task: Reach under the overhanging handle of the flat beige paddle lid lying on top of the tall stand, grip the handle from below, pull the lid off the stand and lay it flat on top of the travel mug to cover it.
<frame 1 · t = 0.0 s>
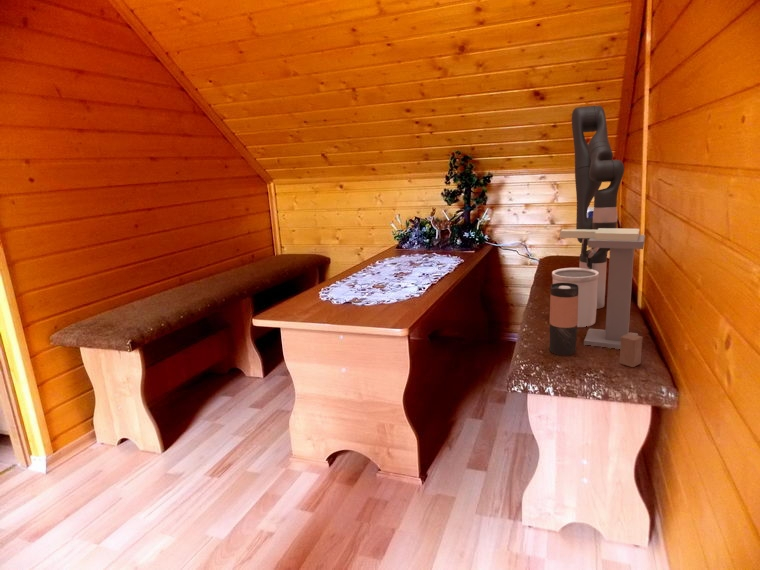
hand: (603, 268, 171), 17 cm above the countertop, tool pointing down, fingers open, 8 cm apart
paddle lid: (598, 237, 147), point 32 cm above the countertop, touching tall stand
travel mug: (562, 351, 147), on the countertop
wooden block: (629, 364, 136), on the countertop
utensil holder: (573, 321, 172), on the countertop, touching gripper
tall stand: (611, 341, 152), on the countertop
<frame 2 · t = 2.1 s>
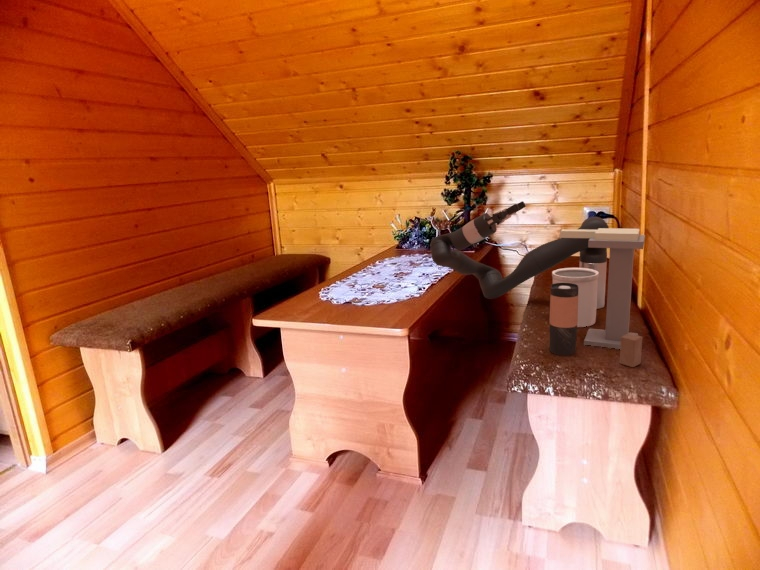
hand: (521, 205, 161), 41 cm above the countertop, tool pointing upward, fingers open, 8 cm apart
utensil holder: (573, 321, 172), on the countertop
everything else where it was.
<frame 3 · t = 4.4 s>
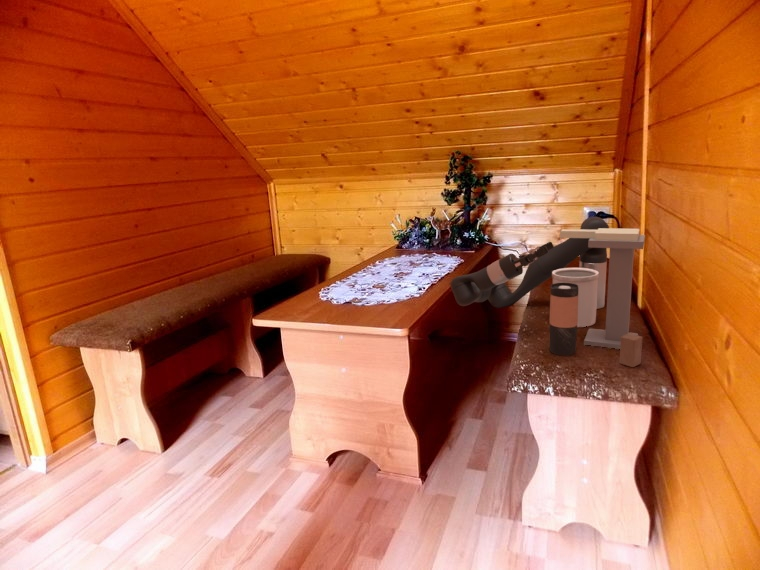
hand: (549, 246, 154), 29 cm above the countertop, tool pointing upward, fingers open, 8 cm apart
nothing on the countertop moved.
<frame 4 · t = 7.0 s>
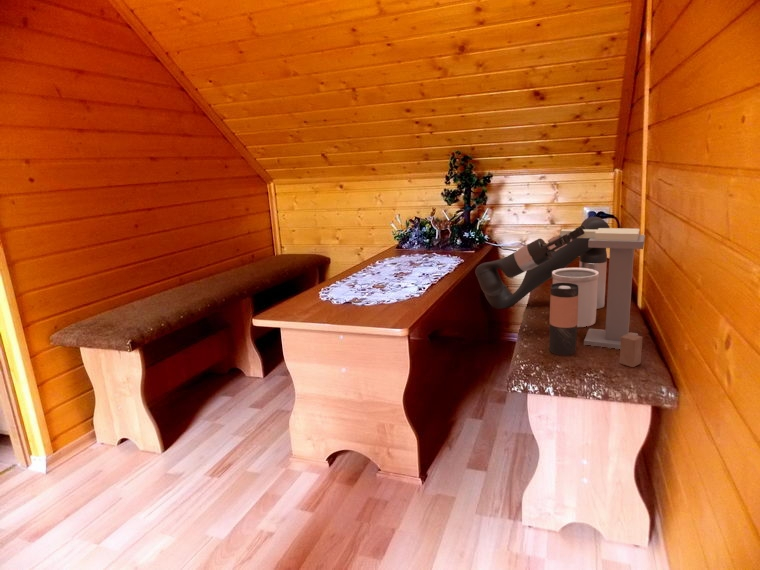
hand: (583, 229, 148), 34 cm above the countertop, tool pointing upward, fingers closed on paddle lid, 4 cm apart
paddle lid: (598, 237, 147), point 32 cm above the countertop, touching gripper, tall stand
everything else where it was.
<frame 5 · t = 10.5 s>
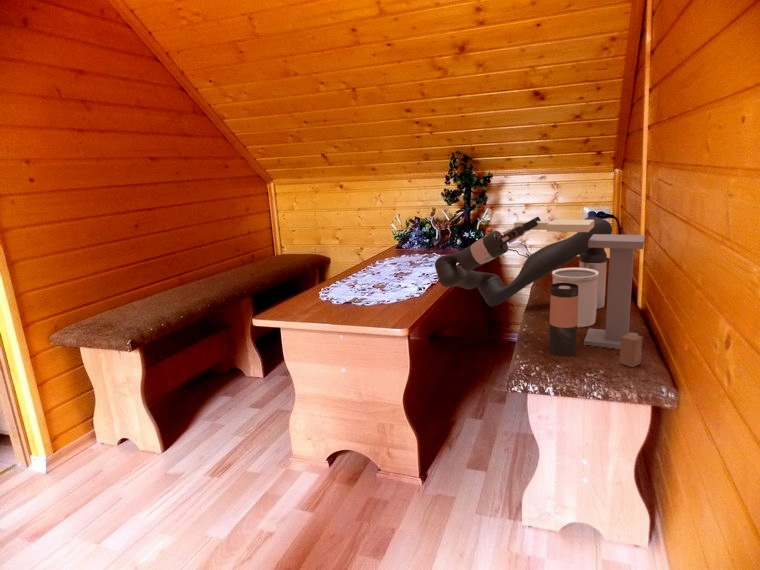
hand: (537, 220, 145), 38 cm above the countertop, tool pointing upward, fingers closed on paddle lid, 4 cm apart
paddle lid: (552, 228, 144), point 36 cm above the countertop, touching gripper
everything else where it was.
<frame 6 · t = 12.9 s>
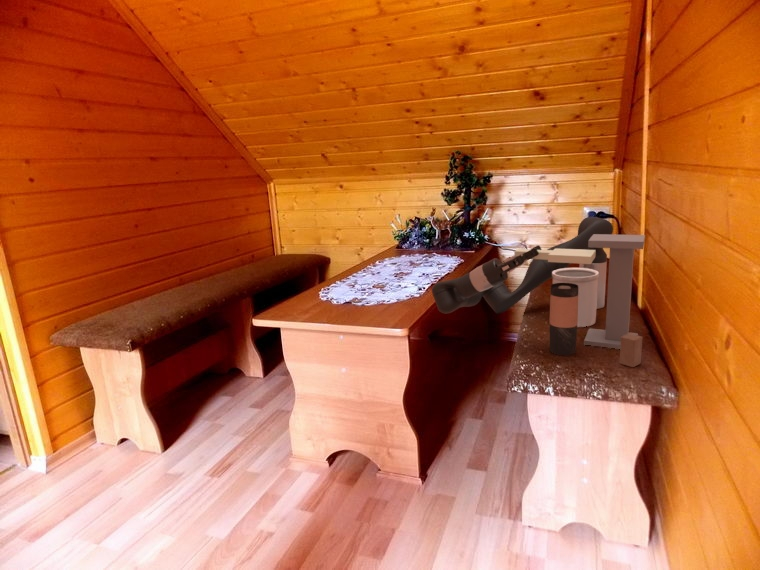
hand: (538, 249, 143), 30 cm above the countertop, tool pointing upward, fingers closed on paddle lid, 4 cm apart
paddle lid: (553, 258, 141), point 28 cm above the countertop, touching gripper
everything else where it was.
when the fingers open (25 cm above the countertop, at t = 14.5 s): paddle lid drops 3 cm, resting on travel mug.
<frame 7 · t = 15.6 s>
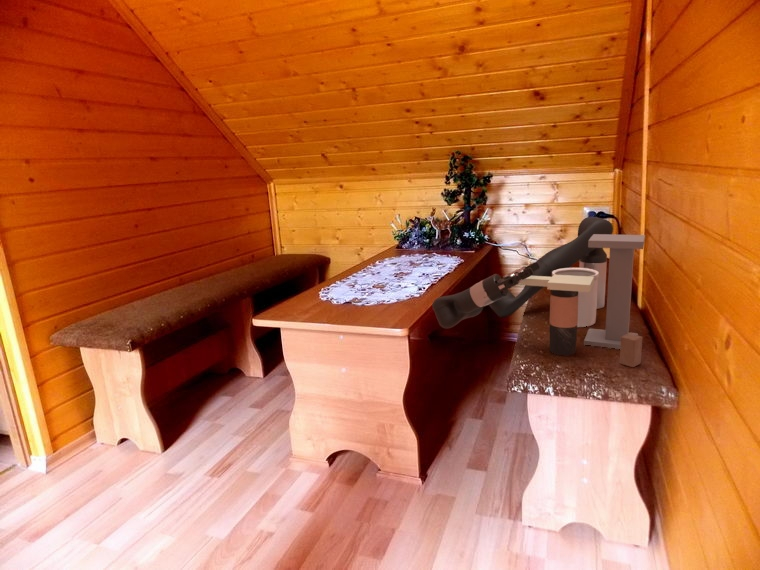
hand: (535, 267, 145), 25 cm above the countertop, tool pointing upward, fingers open, 8 cm apart
paddle lid: (552, 285, 143), point 20 cm above the countertop, touching travel mug
travel mug: (562, 351, 147), on the countertop, touching paddle lid
everything else where it was.
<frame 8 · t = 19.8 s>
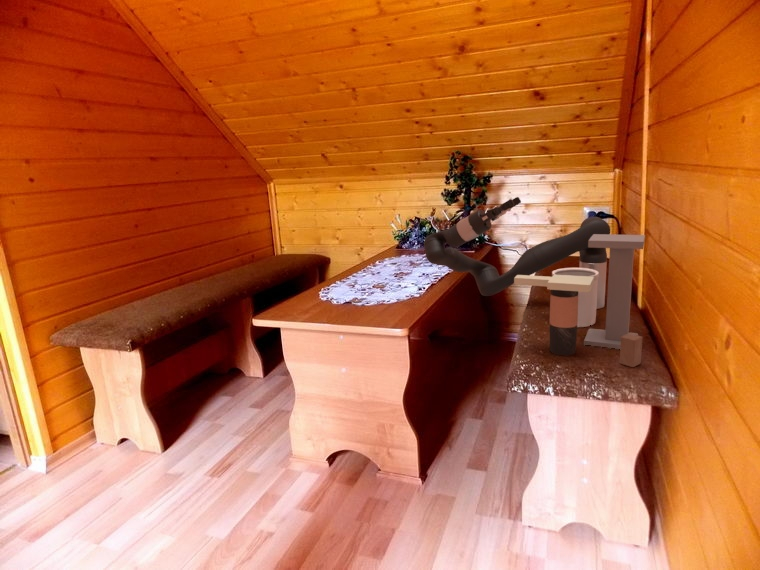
hand: (516, 200, 157), 43 cm above the countertop, tool pointing upward, fingers open, 8 cm apart
nothing on the countertop moved.
at the end: paddle lid inside the target area on the travel mug (0.7 cm from its centre), point 20.2 cm above the travel mug's base; paddle lid touching travel mug; travel mug tilted 0° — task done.
